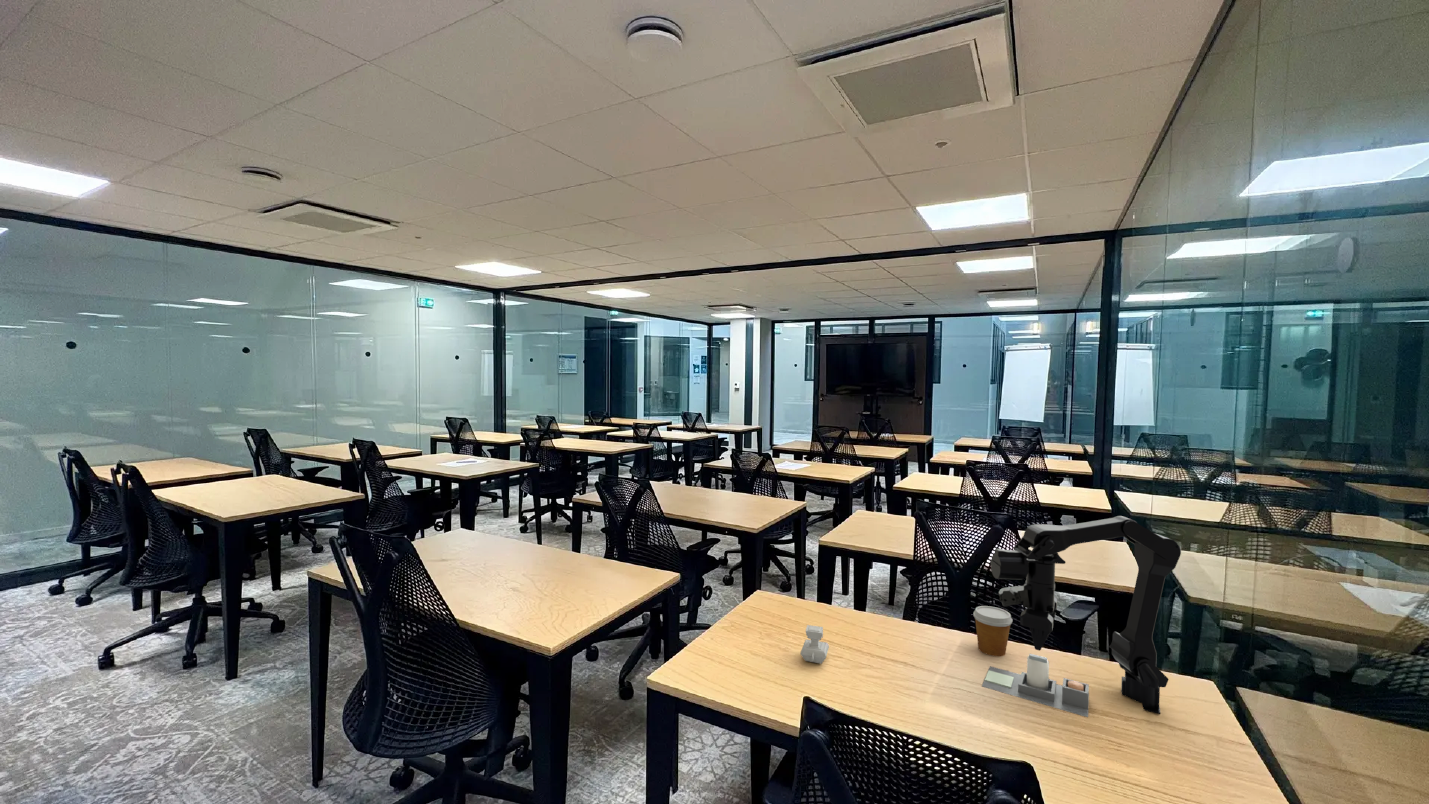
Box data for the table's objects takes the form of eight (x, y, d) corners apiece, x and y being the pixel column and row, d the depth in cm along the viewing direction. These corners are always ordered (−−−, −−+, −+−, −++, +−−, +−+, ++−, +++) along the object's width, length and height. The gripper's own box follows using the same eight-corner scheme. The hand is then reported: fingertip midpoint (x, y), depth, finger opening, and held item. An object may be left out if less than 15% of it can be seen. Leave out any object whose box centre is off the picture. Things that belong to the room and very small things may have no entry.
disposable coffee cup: (1008, 668, 143) (1009, 622, 143) (968, 657, 149) (969, 613, 149) (1014, 654, 151) (1015, 611, 150) (976, 644, 156) (977, 602, 156)
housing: (1088, 699, 129) (1089, 678, 129) (1087, 724, 119) (1088, 701, 119) (989, 671, 141) (990, 652, 141) (981, 692, 131) (982, 671, 131)
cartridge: (1048, 689, 130) (1049, 655, 130) (1047, 697, 127) (1048, 663, 126) (1027, 683, 133) (1028, 650, 133) (1025, 691, 129) (1026, 657, 129)
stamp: (825, 669, 141) (825, 637, 141) (799, 665, 143) (800, 633, 143) (829, 654, 149) (829, 623, 149) (804, 650, 151) (805, 619, 151)
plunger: (1083, 697, 126) (1083, 683, 126) (1083, 703, 123) (1083, 689, 123) (1067, 693, 127) (1068, 679, 127) (1067, 698, 125) (1067, 684, 125)
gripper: (1007, 563, 141) (1005, 624, 142) (996, 584, 126) (994, 651, 126) (1058, 572, 135) (1056, 635, 135) (1052, 595, 120) (1051, 665, 120)
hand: (1038, 646), depth 129 cm, fingers open, 4 cm apart
